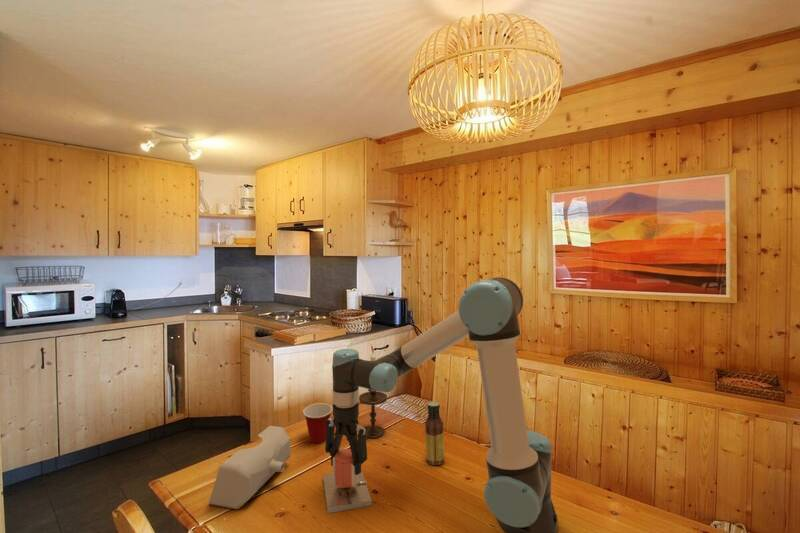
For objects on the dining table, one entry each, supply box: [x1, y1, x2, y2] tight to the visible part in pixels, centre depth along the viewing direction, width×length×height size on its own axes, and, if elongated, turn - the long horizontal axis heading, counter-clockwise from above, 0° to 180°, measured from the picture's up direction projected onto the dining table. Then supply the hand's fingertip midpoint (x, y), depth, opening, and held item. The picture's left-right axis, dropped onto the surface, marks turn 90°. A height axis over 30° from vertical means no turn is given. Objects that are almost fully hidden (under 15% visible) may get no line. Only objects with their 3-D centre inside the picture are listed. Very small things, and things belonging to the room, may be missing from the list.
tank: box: [208, 425, 291, 510], centre depth 115 cm, size 25×16×12 cm, turn 167°
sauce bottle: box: [424, 400, 445, 466], centre depth 127 cm, size 6×6×20 cm
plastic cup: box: [302, 402, 333, 445], centre depth 141 cm, size 11×11×12 cm
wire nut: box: [335, 448, 354, 488], centre depth 111 cm, size 6×6×8 cm
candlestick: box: [358, 344, 388, 440], centre depth 146 cm, size 11×11×35 cm
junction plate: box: [322, 468, 372, 514], centre depth 111 cm, size 16×12×10 cm
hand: (345, 480), depth 111 cm, fingers closed on wire nut, 6 cm apart
